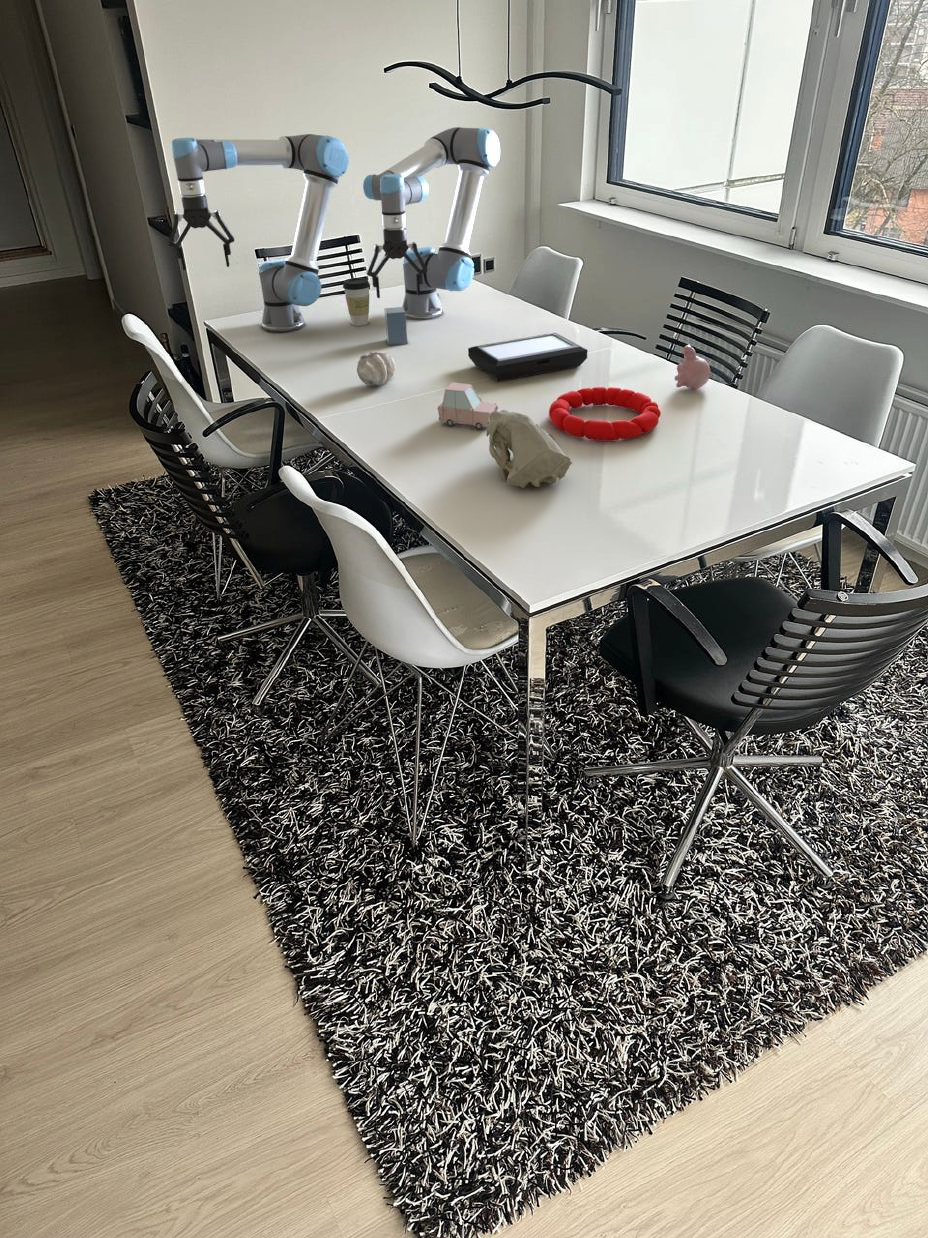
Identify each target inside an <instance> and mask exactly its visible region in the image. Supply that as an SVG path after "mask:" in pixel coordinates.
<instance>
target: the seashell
mask: <svg viewBox="0 0 928 1238" xmlns="http://www.w3.org/2000/svg"><path fill="white" fill-rule="evenodd" d="M356 373H357V376H358V378H359V380H360V381H361V382H362V383H363V384H365V385H367V386H375V385H376V386H384V385H387V384H388V383H389V382H390V381H391V379H392V378H393V377H394V375H395V374H396V363H395V360H394V358H393V356H391V355H388V354H387V353H386V352H385V353H383V352H376V351H373V352H371V351H370V352H369V354H368V355H367V354H363V355H360V357H359V360H358V361H357V366H356Z"/></svg>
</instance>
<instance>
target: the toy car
mask: <svg viewBox="0 0 928 1238" xmlns="http://www.w3.org/2000/svg"><path fill="white" fill-rule="evenodd" d="M498 409H499V404H498V403H497V402H490V401H489V402H487V401H483V397H481V396H480V395H479V394H478V393H477V391H476V390H475V389H474V386H472V384H469V383H459V382H451V383H450V384H449V385H448V386H447V387H446V388H445V389H444V394H443V399H442V403H440V404H439V405H438V406H437V413H438V421H439V422H443V423H446V425H447V426H448V427H452V426H454V425H455V424H461V425H469V426H473V427H475V429H476V430H479V431H480V430H481V429H483V428H485V427H486V428H487V423H488V422H490V414H491V413H492V412H496V411H499V410H498Z"/></svg>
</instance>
